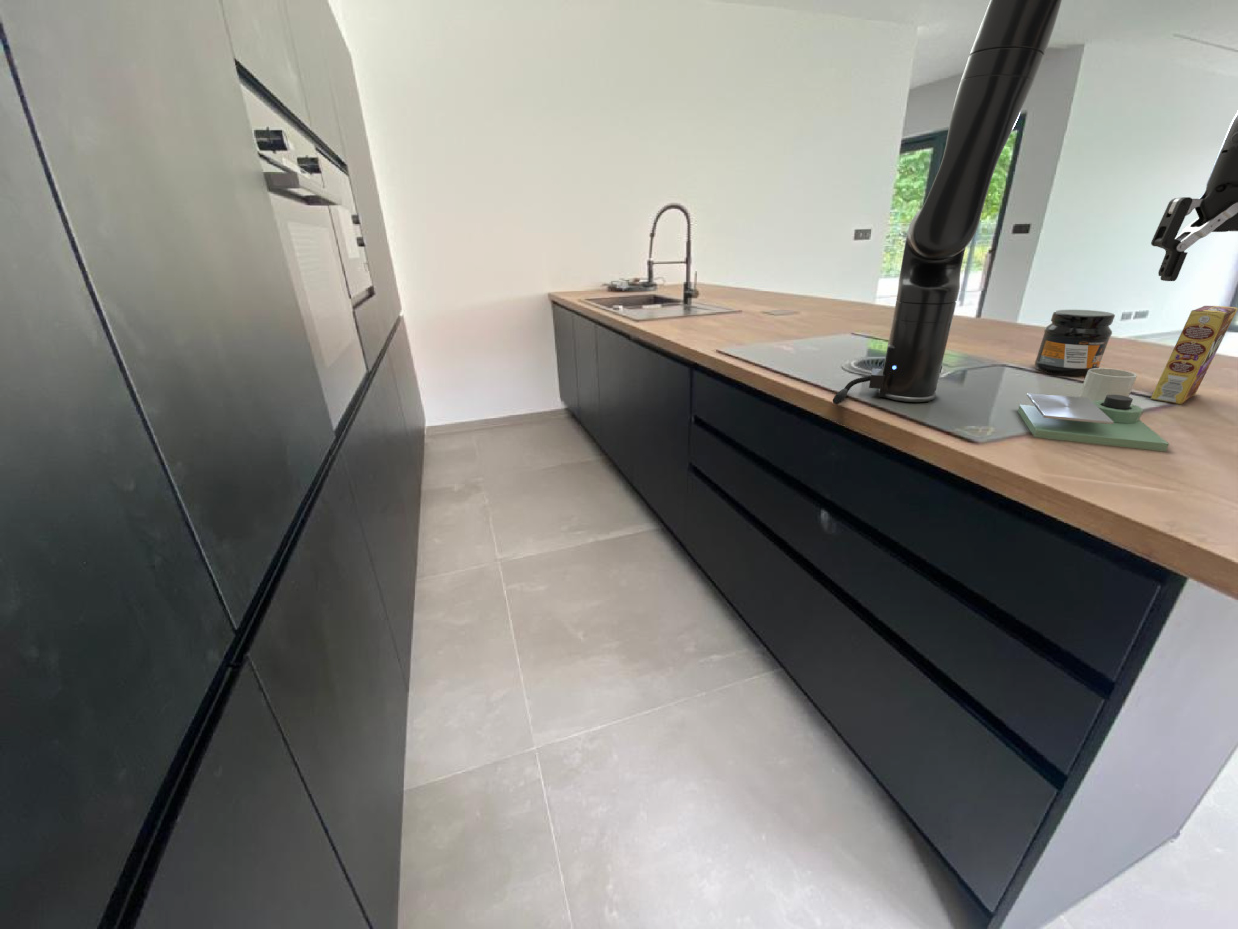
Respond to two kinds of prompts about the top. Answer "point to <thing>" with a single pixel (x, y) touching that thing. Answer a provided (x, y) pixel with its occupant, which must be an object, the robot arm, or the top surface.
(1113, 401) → the tare button
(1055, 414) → the scale pan
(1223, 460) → the top surface
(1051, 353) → the supplement container
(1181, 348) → the candy box
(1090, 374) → the white cup
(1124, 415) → the scale
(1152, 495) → the top surface
